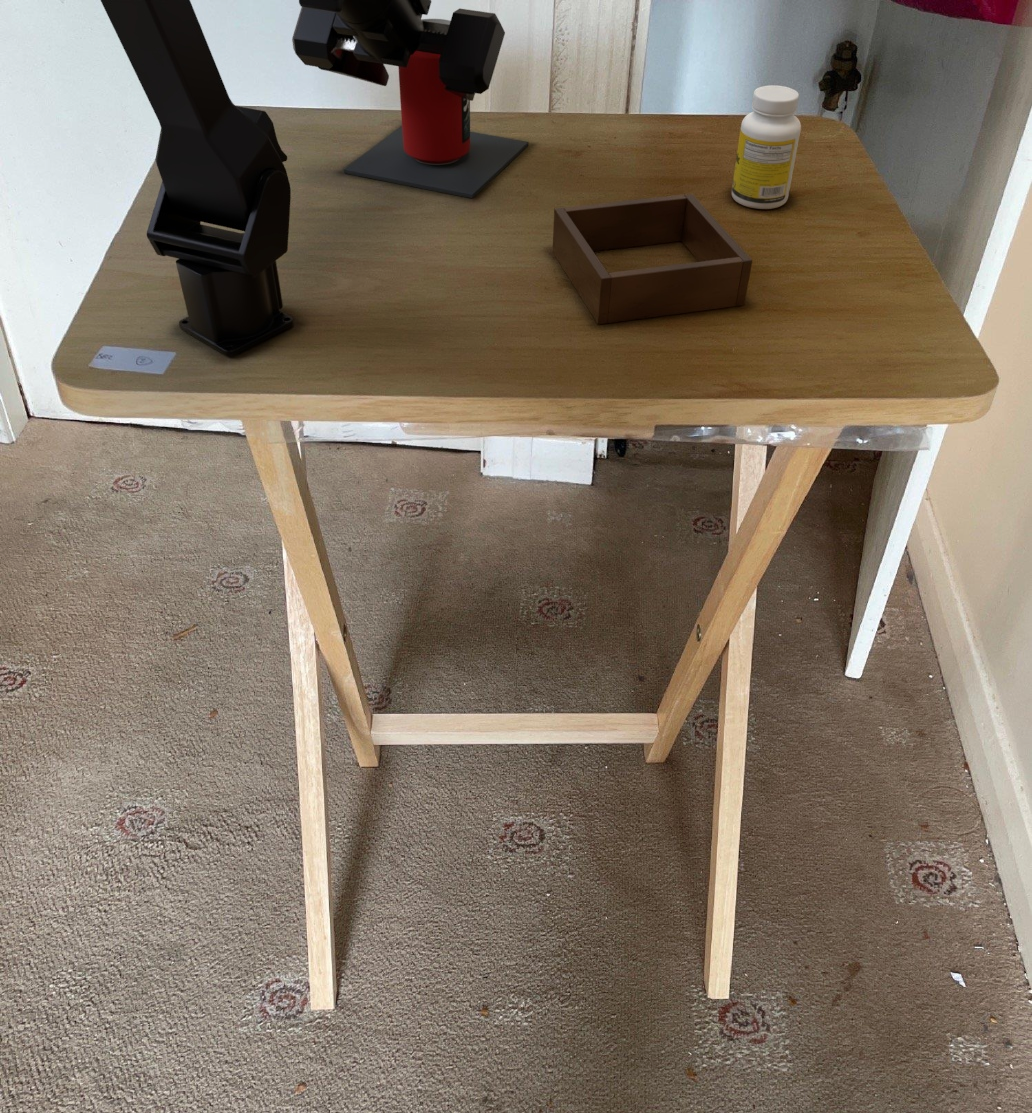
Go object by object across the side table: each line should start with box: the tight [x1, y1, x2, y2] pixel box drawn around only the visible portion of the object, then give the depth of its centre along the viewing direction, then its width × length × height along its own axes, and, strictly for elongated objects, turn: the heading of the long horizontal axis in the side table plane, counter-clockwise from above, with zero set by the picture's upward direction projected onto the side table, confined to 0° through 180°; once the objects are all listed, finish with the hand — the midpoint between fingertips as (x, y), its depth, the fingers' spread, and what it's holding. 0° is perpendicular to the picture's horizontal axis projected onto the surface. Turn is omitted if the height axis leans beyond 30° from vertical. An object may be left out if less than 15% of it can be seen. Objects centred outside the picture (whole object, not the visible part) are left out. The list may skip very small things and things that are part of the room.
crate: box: [552, 193, 753, 325], centre depth 86 cm, size 13×13×4 cm
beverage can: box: [397, 18, 471, 165], centre depth 101 cm, size 7×7×12 cm
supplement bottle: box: [731, 84, 802, 210], centre depth 96 cm, size 5×5×10 cm
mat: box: [342, 125, 529, 199], centre depth 105 cm, size 14×14×1 cm
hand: (428, 87), depth 99 cm, fingers open, 9 cm apart
